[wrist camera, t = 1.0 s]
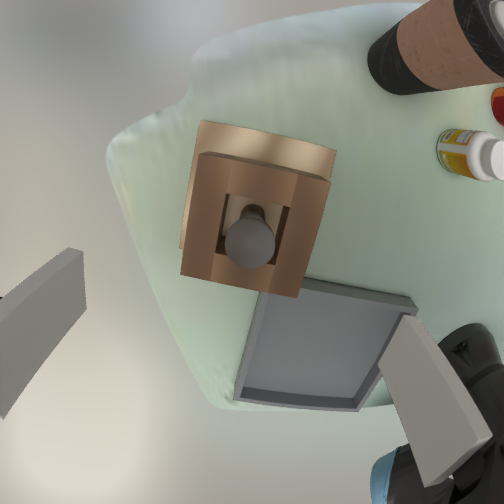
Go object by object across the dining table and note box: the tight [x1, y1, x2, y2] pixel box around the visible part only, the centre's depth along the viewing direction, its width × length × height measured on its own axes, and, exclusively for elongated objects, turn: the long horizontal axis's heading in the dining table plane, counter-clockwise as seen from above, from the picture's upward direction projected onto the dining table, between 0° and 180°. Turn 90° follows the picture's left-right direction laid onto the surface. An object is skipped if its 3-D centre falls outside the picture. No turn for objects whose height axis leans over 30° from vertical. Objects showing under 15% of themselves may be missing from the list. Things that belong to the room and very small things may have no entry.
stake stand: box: [179, 120, 337, 269], centre depth 25 cm, size 14×14×15 cm
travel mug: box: [368, 0, 504, 95], centre depth 16 cm, size 8×8×20 cm
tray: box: [233, 277, 418, 412], centre depth 38 cm, size 20×20×3 cm
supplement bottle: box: [437, 129, 504, 182], centre depth 24 cm, size 5×5×10 cm
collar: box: [180, 151, 331, 298], centre depth 23 cm, size 9×9×4 cm
